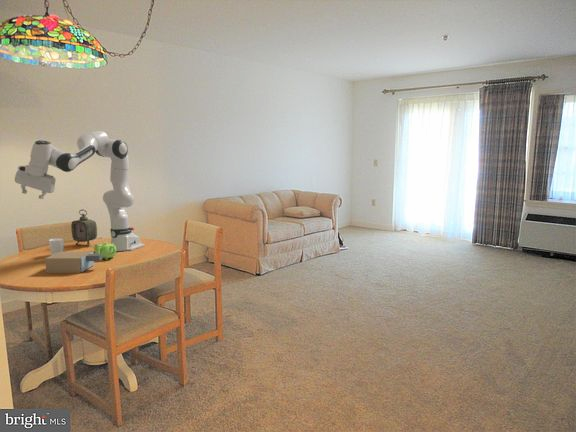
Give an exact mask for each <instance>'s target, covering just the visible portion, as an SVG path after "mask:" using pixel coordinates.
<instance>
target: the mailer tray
mask: <svg viewBox="0 0 576 432" xmlns="http://www.w3.org/2000/svg"><path fill="white" fill-rule="evenodd" d="M90 252H91V253H89V254H87V255H85V256H84V257H82V258H80V263H81V273H83V272H84V271H86V270H88V269H90V268H92V266H94V265H95V262H100V261H102V260H103V258H102V254H95V253H94V251H90Z"/></svg>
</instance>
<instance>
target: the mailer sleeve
mask: <svg viewBox="0 0 576 432" xmlns="http://www.w3.org/2000/svg"><path fill="white" fill-rule="evenodd" d="M91 252H92V251H64V252H58V253H56V254H54V255H51V254H50V255H49V256H48V257H45V259H44V262H45V271H46V272H45V273H46V274H71V273H72V274H76V273H77V274H78V273H79V274H80V273H82V272H81V263H80V258H82V257H84V256H85V255H87V254H89V253H91Z"/></svg>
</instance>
